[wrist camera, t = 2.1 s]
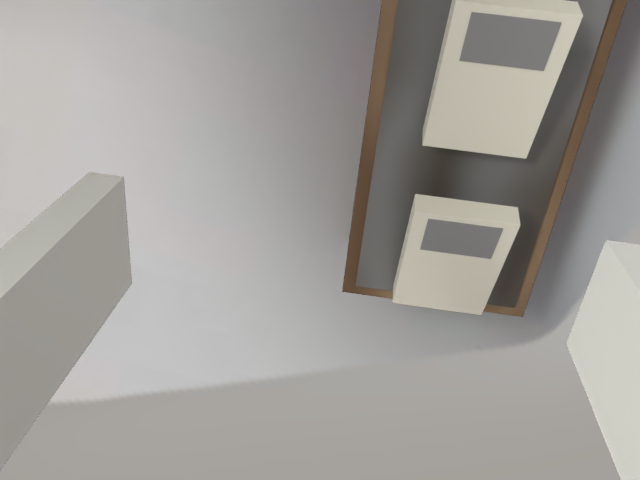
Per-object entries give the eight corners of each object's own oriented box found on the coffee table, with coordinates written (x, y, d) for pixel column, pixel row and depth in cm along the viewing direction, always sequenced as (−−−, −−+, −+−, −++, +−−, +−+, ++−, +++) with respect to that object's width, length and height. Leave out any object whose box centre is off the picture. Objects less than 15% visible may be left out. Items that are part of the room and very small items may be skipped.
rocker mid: (422, 130, 33) (422, 146, 32) (454, -13, 27) (455, 1, 26) (523, 143, 33) (526, 159, 32) (577, 1, 27) (583, 16, 26)
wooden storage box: (348, 247, 45) (341, 302, 38) (421, -287, 29) (429, -342, 23) (510, 269, 44) (530, 328, 38) (671, -264, 29) (749, -313, 23)
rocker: (393, 285, 38) (392, 303, 37) (415, 193, 32) (414, 211, 31) (480, 297, 38) (481, 315, 37) (517, 207, 32) (520, 225, 31)
